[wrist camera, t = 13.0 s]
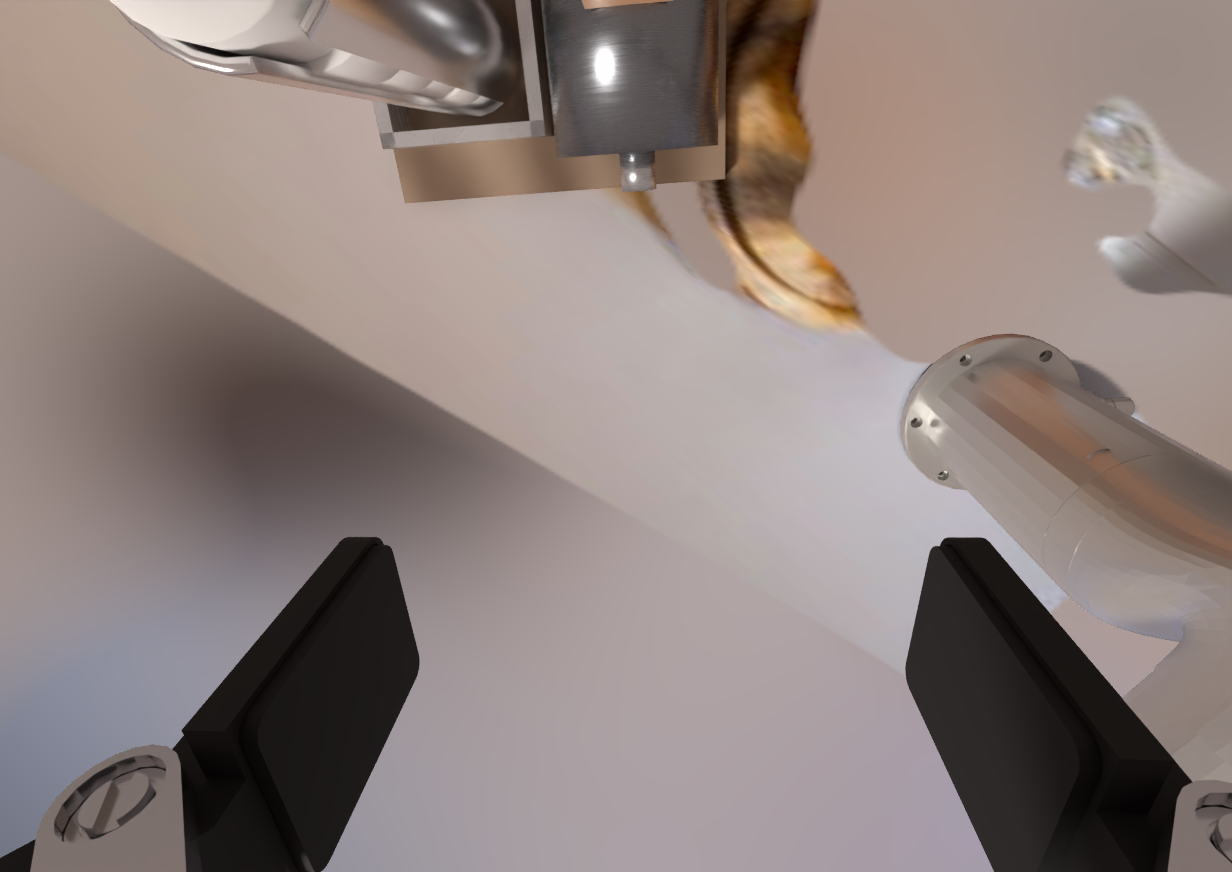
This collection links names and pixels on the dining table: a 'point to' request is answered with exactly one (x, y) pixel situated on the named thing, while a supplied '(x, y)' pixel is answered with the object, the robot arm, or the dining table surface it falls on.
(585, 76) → the motor mount
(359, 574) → the robot arm
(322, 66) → the silver tall cylinder
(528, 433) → the dining table surface
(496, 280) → the dining table surface
